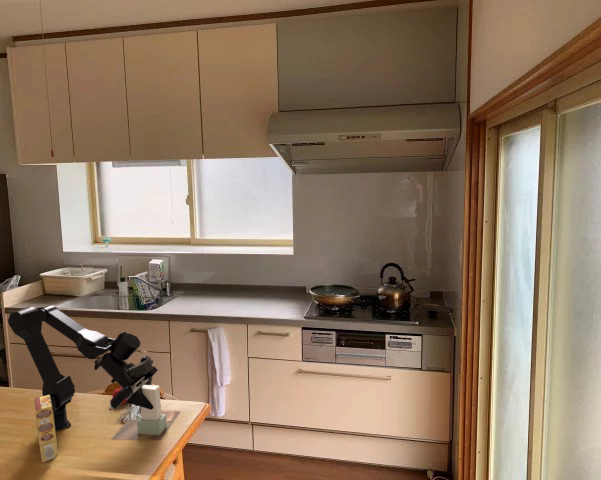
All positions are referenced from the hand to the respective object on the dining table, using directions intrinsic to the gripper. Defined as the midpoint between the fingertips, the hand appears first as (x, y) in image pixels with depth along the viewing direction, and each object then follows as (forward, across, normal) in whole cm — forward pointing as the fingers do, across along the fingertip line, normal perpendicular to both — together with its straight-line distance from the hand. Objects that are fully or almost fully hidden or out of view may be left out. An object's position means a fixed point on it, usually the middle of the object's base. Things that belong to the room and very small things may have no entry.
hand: (155, 406), depth 135 cm
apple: (-8, +15, +21) cm, 28 cm away
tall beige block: (+3, 0, +5) cm, 6 cm away
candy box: (-12, -13, +25) cm, 31 cm away
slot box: (+5, 0, +6) cm, 8 cm away
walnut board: (+3, +3, +9) cm, 10 cm away
